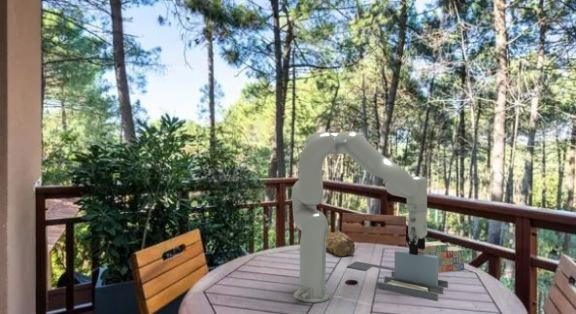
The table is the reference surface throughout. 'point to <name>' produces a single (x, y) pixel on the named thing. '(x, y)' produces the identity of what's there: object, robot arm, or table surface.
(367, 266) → the mat
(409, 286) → the offcut upper
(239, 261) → the table surface
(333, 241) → the petrified wood
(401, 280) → the rack
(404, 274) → the panel
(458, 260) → the stack of blocks
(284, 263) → the table surface
